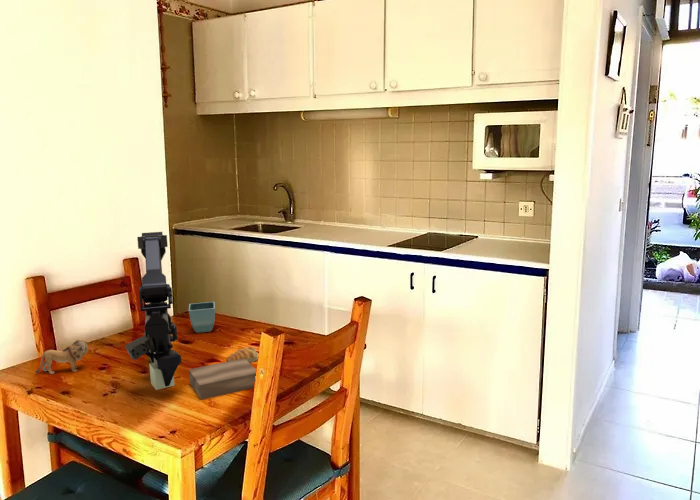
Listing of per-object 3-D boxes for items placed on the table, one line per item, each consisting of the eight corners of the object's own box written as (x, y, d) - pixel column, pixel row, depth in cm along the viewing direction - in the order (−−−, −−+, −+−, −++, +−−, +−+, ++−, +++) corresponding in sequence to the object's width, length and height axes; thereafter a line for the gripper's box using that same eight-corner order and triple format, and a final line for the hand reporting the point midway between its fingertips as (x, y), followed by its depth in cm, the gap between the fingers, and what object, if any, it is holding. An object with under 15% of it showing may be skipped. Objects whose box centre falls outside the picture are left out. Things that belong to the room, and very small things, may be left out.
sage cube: (151, 383, 163) (149, 363, 162) (169, 379, 166) (167, 359, 164) (156, 390, 159) (154, 369, 158) (174, 385, 161) (172, 365, 160)
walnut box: (190, 384, 163) (188, 369, 162) (245, 372, 170) (244, 358, 170) (200, 401, 153) (199, 385, 152) (259, 387, 160) (258, 372, 159)
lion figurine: (90, 363, 178) (87, 335, 176) (89, 370, 173) (86, 341, 171) (36, 371, 173) (32, 342, 171) (33, 378, 168) (30, 348, 166)
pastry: (233, 369, 173) (232, 356, 172) (221, 363, 178) (221, 351, 177) (260, 360, 179) (259, 348, 178) (248, 355, 184) (247, 343, 183)
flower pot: (190, 327, 210) (189, 303, 208) (216, 325, 212) (214, 301, 210) (190, 335, 202) (188, 310, 200) (216, 333, 204) (215, 308, 202)
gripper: (118, 322, 162) (124, 376, 165) (135, 342, 147) (141, 400, 150) (159, 315, 168) (163, 367, 171) (179, 333, 153) (184, 389, 156)
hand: (162, 380), depth 162 cm, fingers open, 9 cm apart
